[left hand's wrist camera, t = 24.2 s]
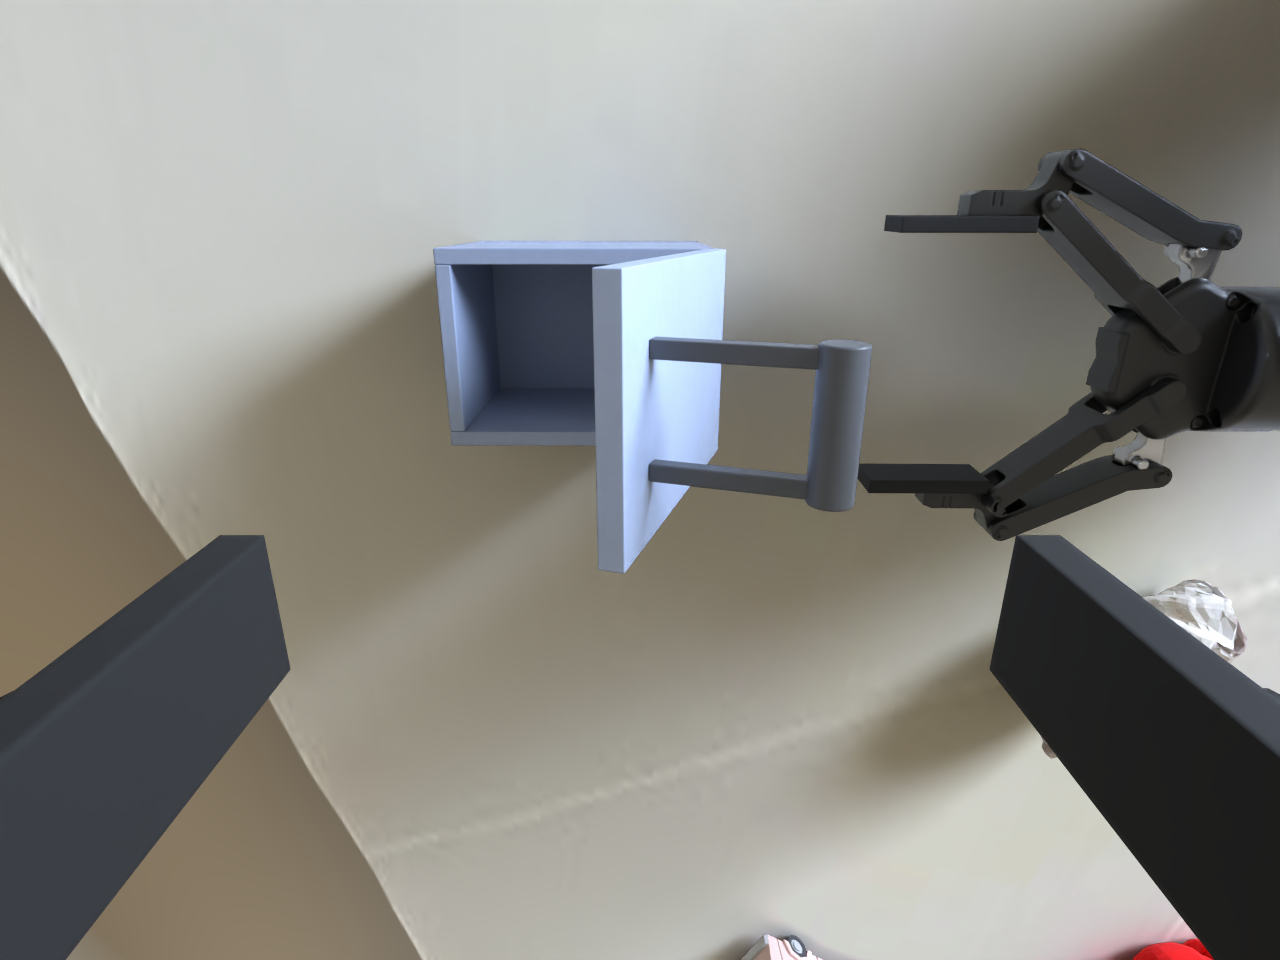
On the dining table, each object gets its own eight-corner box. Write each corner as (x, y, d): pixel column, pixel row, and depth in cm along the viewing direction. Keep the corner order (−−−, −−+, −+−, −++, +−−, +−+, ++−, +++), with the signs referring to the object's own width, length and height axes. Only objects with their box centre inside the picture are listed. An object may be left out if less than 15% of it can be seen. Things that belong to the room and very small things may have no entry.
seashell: (987, 608, 55) (1059, 689, 45) (1189, 554, 53) (1306, 626, 44) (1006, 713, 58) (1076, 809, 49) (1196, 665, 56) (1306, 754, 47)
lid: (597, 570, 25) (842, 608, 23) (591, 267, 21) (879, 274, 19) (699, 448, 38) (860, 464, 36) (705, 248, 35) (884, 251, 32)
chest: (492, 396, 49) (451, 445, 39) (480, 241, 46) (432, 248, 35) (693, 397, 49) (707, 446, 39) (697, 241, 46) (714, 248, 35)
